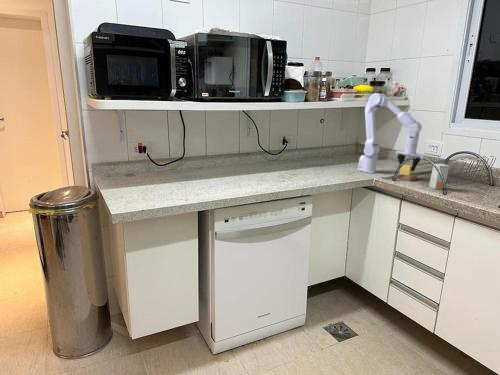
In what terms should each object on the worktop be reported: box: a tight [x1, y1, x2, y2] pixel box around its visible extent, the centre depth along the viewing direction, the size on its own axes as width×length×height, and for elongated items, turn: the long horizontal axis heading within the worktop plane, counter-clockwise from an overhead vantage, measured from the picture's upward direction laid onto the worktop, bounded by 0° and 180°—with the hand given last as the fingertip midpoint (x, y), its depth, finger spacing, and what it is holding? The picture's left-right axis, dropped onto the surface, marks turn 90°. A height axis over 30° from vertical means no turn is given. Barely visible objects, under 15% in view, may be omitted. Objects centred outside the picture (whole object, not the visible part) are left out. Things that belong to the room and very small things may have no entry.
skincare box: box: [428, 163, 450, 190], centre depth 172 cm, size 6×4×12 cm
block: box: [399, 163, 414, 176], centre depth 189 cm, size 5×5×5 cm
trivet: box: [393, 171, 419, 182], centre depth 190 cm, size 9×9×2 cm
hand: (406, 169), depth 189 cm, fingers open, 6 cm apart
